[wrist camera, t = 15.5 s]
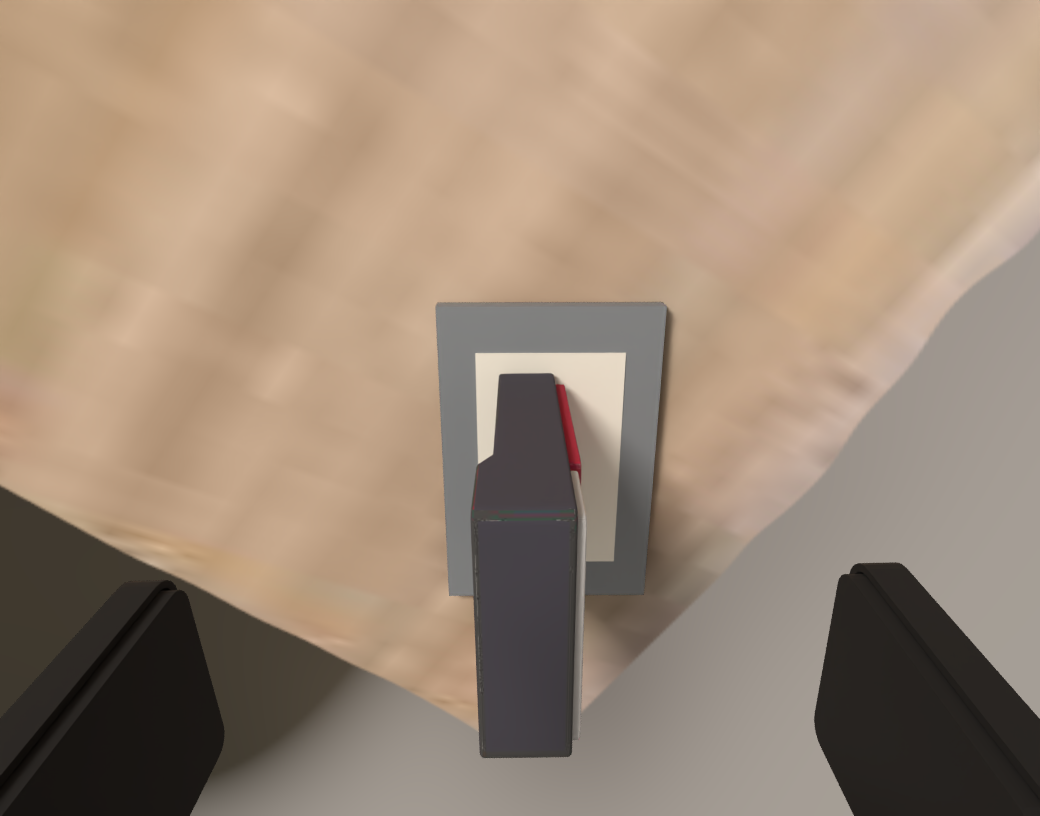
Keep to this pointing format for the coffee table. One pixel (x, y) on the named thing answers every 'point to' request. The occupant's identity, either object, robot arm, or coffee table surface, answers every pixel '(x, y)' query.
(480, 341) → the slate picture frame
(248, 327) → the coffee table surface
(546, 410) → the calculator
